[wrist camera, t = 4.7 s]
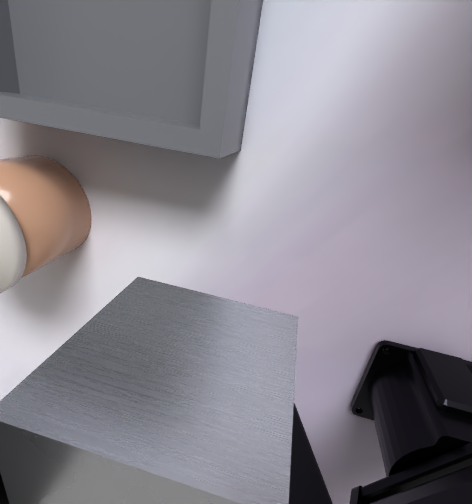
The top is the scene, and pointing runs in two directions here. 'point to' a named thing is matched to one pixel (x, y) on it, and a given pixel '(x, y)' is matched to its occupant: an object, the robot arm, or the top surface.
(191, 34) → the tote
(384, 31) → the top surface
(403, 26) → the top surface
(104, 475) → the steel block
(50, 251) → the ceramic canister
